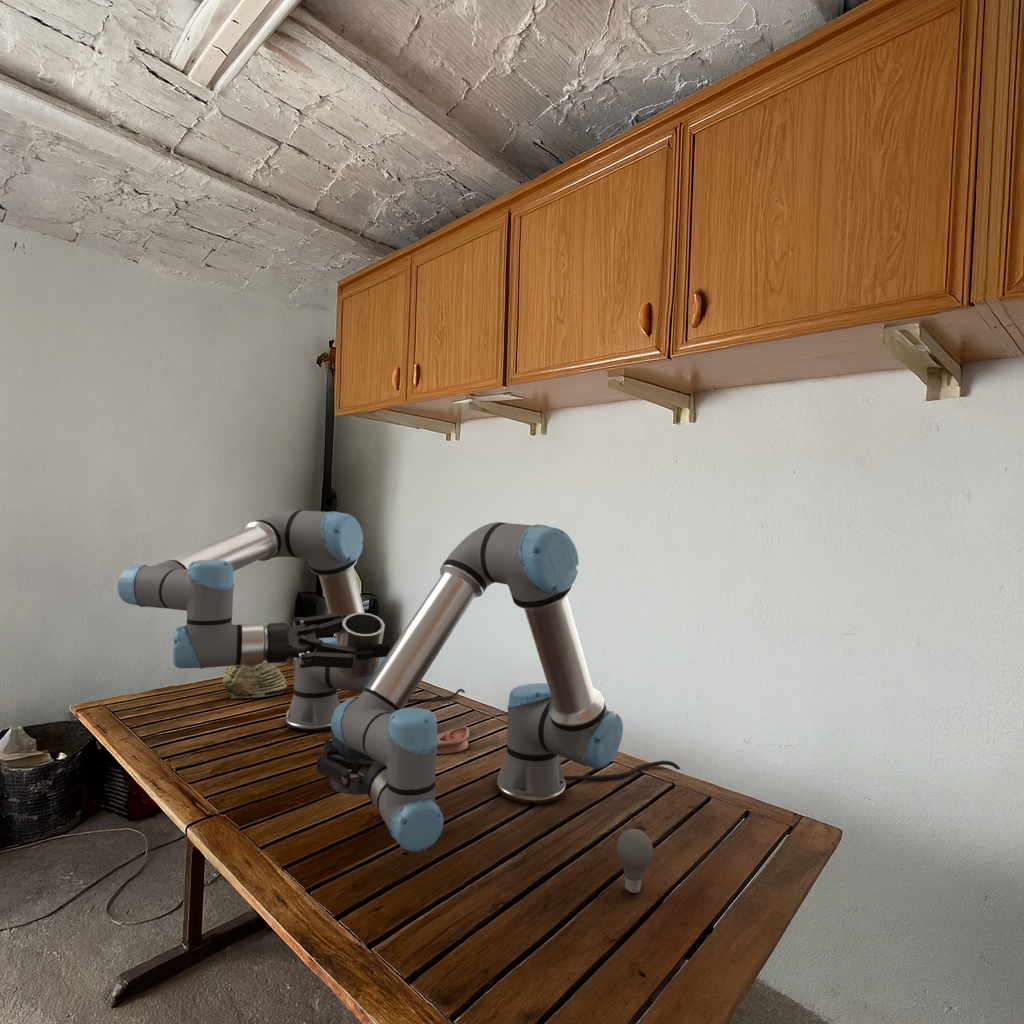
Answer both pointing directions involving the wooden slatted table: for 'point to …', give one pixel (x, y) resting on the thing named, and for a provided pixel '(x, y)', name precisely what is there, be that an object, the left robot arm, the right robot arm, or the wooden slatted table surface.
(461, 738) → the anatomical model
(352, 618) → the cup
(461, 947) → the wooden slatted table surface
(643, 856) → the light bulb
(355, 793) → the tub
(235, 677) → the fossil
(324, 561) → the left robot arm
